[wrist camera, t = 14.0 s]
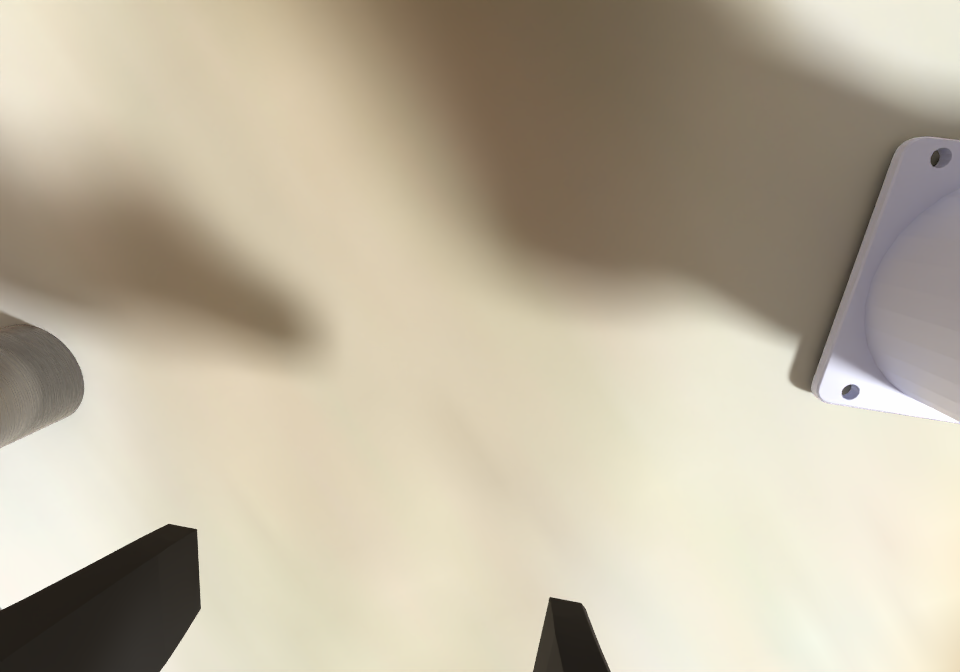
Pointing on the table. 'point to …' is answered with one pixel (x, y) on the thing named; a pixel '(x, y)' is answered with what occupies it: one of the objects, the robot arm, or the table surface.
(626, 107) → the table surface
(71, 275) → the table surface
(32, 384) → the grey spice tin
